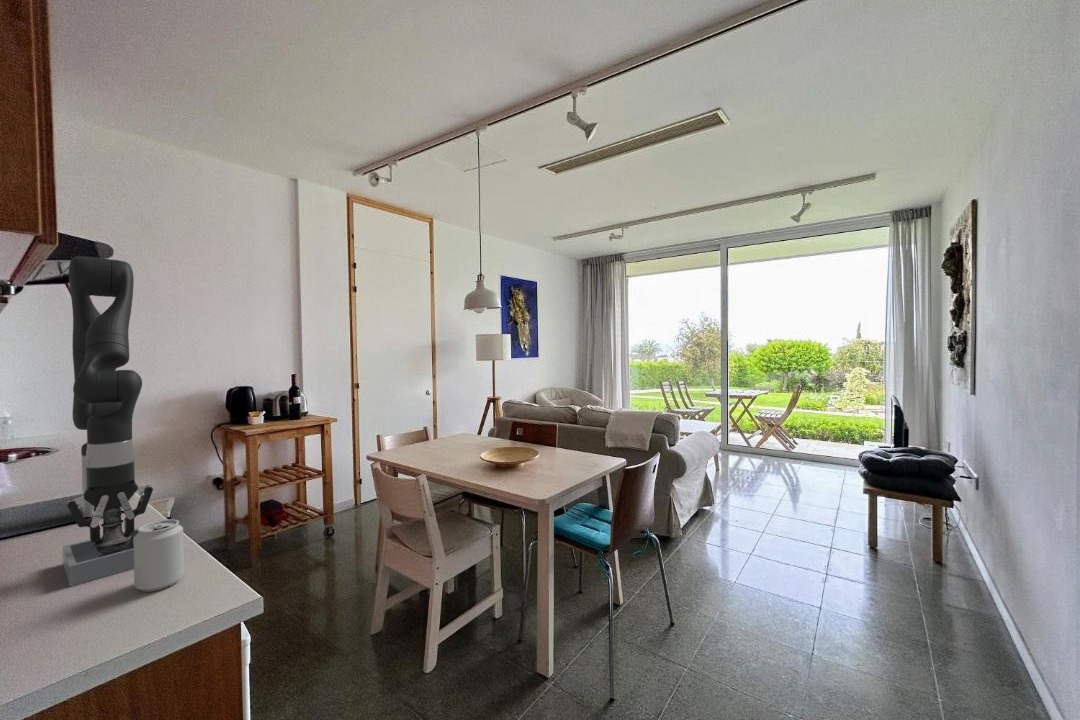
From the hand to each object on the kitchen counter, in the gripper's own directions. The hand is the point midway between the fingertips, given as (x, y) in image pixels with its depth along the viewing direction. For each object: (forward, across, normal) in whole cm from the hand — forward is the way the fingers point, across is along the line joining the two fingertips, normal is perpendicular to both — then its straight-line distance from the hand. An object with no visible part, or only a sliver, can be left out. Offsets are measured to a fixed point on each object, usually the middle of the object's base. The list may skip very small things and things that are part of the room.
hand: (112, 538), depth 96 cm
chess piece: (+4, 0, 0) cm, 4 cm away
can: (+5, -4, +19) cm, 20 cm away
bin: (+5, 0, 0) cm, 5 cm away
